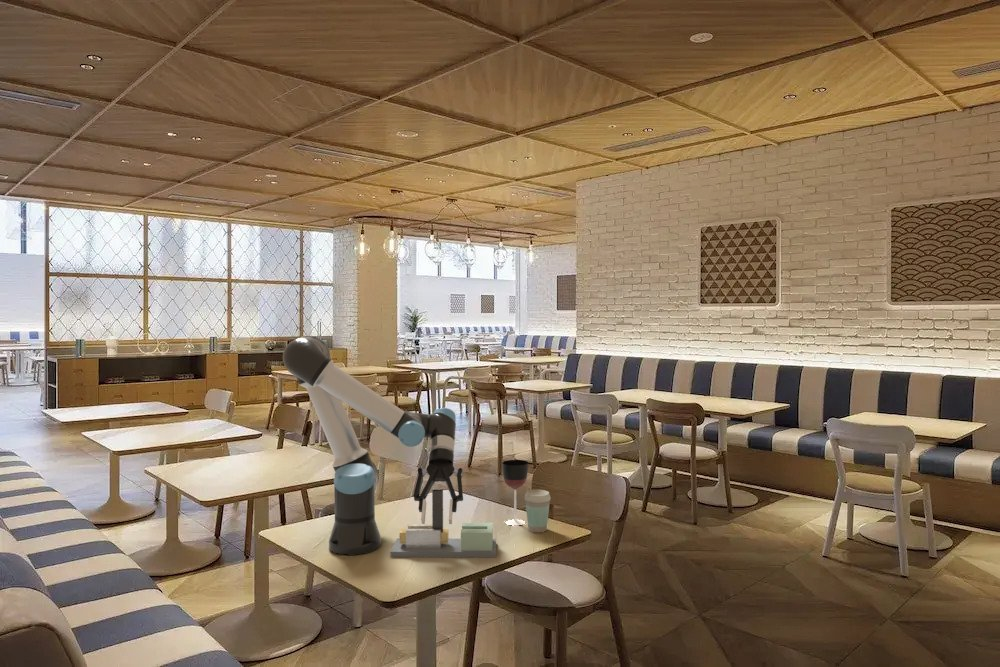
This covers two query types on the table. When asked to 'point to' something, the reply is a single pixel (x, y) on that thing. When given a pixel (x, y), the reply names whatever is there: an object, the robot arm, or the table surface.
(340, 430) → the robot arm
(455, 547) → the base board
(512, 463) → the wineglass
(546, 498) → the coffee cup
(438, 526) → the sliding bolt with handle
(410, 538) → the steel sleeve
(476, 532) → the socket block
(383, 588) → the table surface
